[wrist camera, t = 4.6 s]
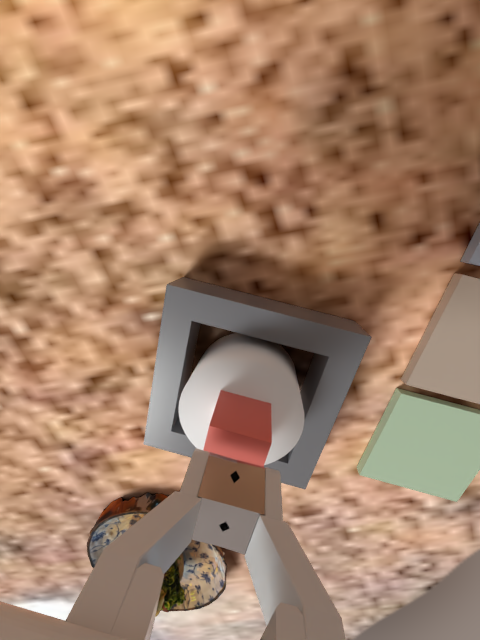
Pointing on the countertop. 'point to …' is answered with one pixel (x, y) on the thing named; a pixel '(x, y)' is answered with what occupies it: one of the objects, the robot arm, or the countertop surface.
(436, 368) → the track
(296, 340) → the button housing
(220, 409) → the dome
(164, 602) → the bowl of food
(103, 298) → the countertop surface
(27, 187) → the countertop surface
